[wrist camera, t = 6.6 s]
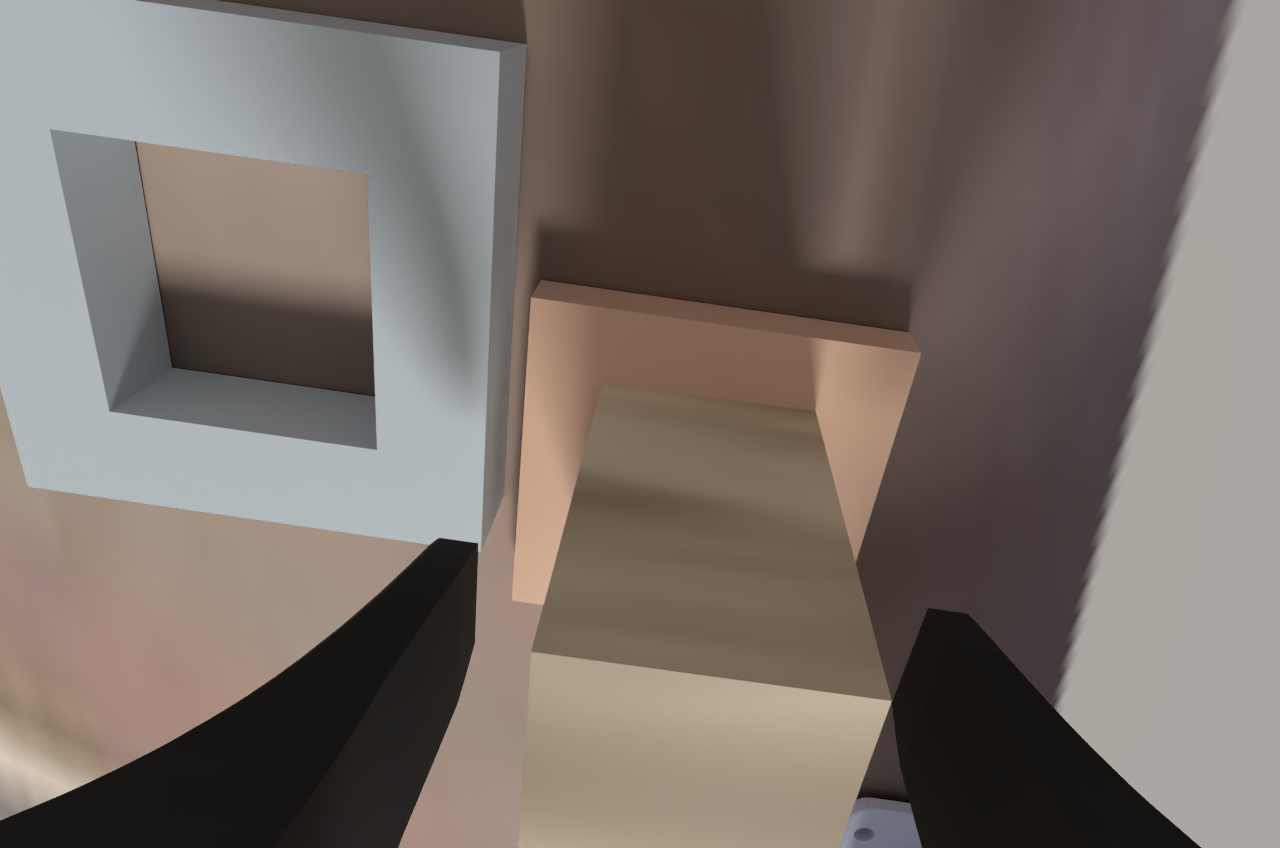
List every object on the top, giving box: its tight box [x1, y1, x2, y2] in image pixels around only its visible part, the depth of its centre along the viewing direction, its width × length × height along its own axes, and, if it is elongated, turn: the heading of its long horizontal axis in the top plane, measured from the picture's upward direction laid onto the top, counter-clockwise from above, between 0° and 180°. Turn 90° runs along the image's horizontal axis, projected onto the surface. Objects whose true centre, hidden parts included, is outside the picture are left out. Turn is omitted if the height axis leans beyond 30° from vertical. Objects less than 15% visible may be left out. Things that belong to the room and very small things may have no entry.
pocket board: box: [0, 0, 527, 552], centre depth 15 cm, size 9×9×2 cm
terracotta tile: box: [512, 280, 921, 605], centre depth 17 cm, size 7×7×1 cm
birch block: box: [518, 383, 892, 848], centre depth 13 cm, size 4×4×7 cm
